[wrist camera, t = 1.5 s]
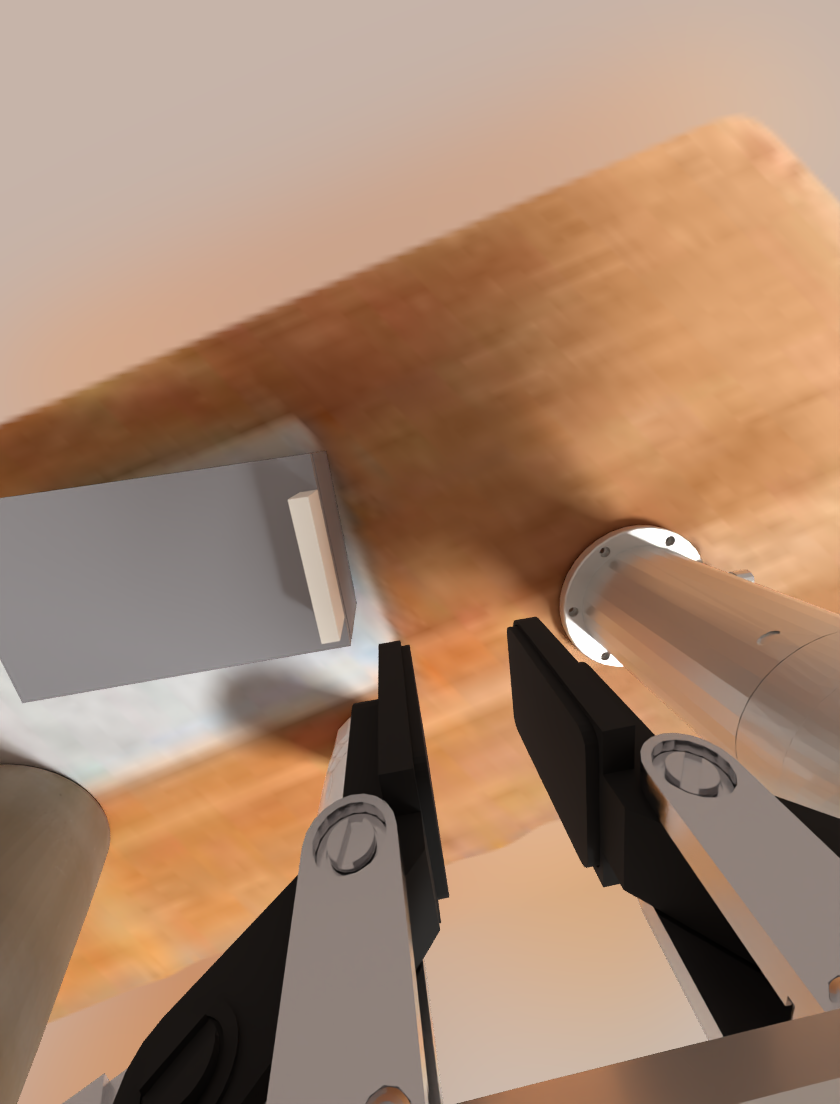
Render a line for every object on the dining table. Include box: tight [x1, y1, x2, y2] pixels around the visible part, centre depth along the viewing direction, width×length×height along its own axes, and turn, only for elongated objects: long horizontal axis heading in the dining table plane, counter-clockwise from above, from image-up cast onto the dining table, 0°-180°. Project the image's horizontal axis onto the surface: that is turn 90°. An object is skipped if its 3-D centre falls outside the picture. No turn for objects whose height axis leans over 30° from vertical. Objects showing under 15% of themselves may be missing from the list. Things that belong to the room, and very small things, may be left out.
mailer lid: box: [0, 453, 351, 703], centre depth 21 cm, size 20×12×4 cm, turn 98°
